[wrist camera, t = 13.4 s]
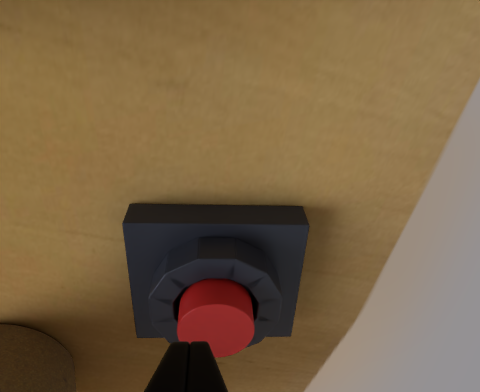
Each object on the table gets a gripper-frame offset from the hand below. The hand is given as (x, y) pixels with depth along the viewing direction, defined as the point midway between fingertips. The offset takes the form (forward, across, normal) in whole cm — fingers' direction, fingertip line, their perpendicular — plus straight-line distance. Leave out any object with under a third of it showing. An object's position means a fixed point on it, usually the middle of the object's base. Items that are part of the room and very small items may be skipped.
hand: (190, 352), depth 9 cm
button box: (+11, -1, +7) cm, 13 cm away
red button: (+8, -1, +7) cm, 11 cm away
